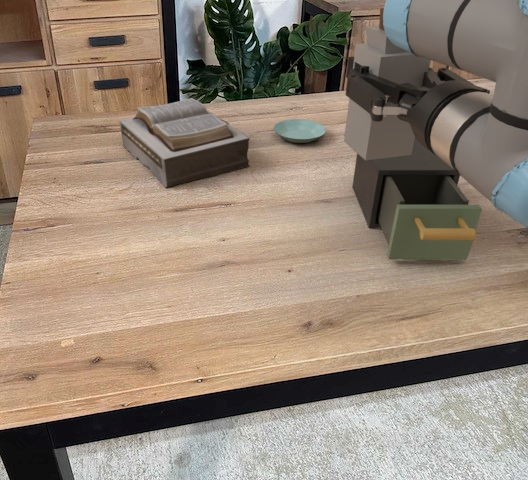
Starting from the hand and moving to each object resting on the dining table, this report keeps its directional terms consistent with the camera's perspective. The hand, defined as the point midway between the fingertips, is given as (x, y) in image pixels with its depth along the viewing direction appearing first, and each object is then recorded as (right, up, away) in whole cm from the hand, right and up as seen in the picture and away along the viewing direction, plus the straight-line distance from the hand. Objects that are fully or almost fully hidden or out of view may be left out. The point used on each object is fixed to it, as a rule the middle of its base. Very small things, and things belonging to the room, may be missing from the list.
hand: (372, 65), depth 73 cm
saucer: (-2, -1, +50) cm, 50 cm away
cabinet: (+11, -18, +22) cm, 31 cm away
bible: (-28, -6, +43) cm, 51 cm away
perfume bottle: (+1, -11, +1) cm, 11 cm away
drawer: (+11, -25, +11) cm, 29 cm away
